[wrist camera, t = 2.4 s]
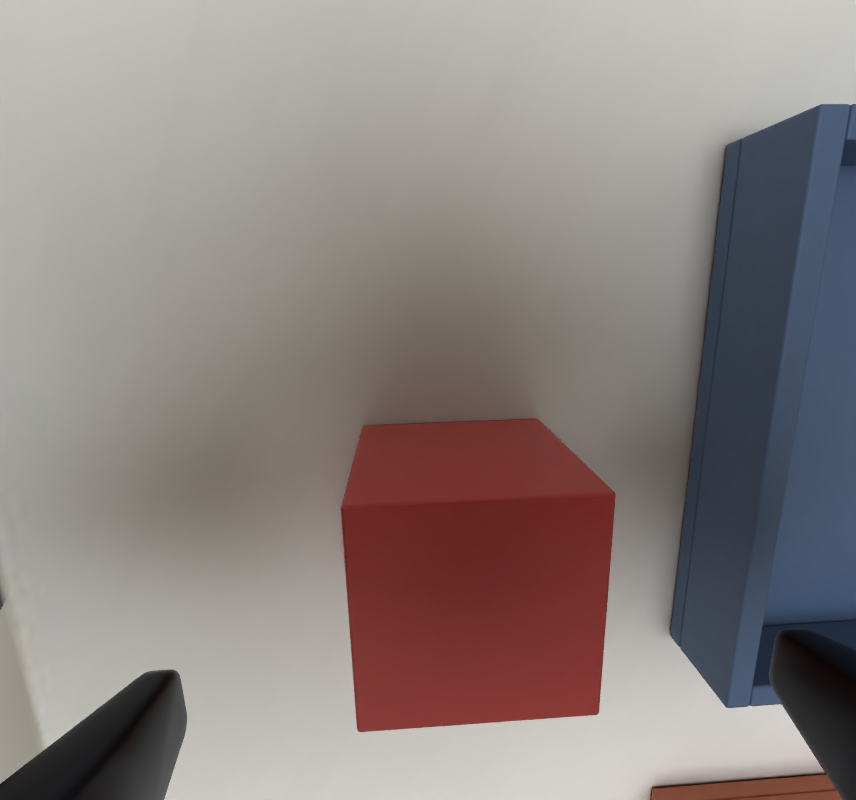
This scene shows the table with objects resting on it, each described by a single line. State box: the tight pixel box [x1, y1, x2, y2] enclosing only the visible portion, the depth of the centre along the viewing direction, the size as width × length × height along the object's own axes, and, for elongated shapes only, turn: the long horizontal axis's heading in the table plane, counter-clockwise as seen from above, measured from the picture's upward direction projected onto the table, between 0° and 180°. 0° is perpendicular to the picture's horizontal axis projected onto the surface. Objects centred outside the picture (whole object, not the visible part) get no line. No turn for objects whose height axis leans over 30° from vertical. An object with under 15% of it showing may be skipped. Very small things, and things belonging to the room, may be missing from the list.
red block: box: [341, 419, 615, 732], centre depth 10 cm, size 4×4×4 cm
